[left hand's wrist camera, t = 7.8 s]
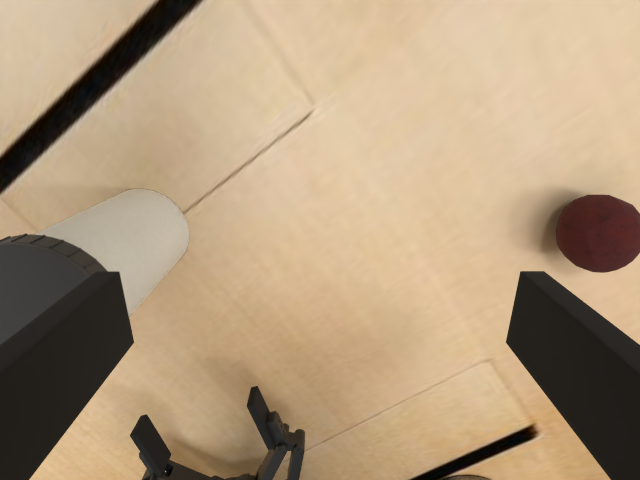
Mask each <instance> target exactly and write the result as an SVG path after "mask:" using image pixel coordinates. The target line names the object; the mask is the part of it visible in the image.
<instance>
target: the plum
mask: <svg viewBox="0 0 640 480" xmlns="http://www.w3.org/2000/svg"><path fill="white" fill-rule="evenodd" d="M556 237H557V244H558V246H559V248H560V250H561V251H562V253H563V254H564V256H565V257H566V258H567V259H569V260H570V261H571V262H572V263H573V264H575V265H576V266H578V267H580V268H583V269H586V270H589V271H592V272H601V273H602V272H610V271H614V270H618V269H620V268H622V267H624V266H626V265H627V264H629V263H630V262H632V261H633V260H634V259H635V258H636V257H637V255H638V254H639V253H640V214H639V212H638V211H637V210H636V208H635V207H634V206H633V205H631V204H629V203H627V202H625V201H623V200H620V199H618V198H615V197H612V196H610V195H587V196H584V197H581V198H578V199H576V200H574V201H572V202H571V203H570V204H569V205H568V206H566V207H565V209H564V211H563V212H562V214H561V215H560V218H559V221H558V225H557V229H556Z"/></svg>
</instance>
